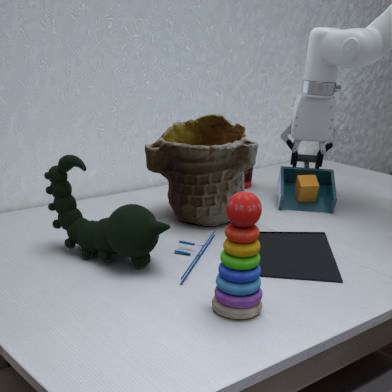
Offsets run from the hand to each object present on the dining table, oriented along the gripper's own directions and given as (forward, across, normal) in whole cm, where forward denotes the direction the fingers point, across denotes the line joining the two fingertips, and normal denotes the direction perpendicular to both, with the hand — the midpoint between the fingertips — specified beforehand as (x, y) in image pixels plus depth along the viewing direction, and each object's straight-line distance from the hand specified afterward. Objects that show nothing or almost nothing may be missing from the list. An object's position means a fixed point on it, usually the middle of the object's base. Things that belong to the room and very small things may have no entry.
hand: (305, 168), depth 128 cm
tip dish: (+5, 0, +5) cm, 7 cm away
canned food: (+8, +17, -6) cm, 20 cm away
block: (+5, 0, +7) cm, 9 cm away
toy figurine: (+8, +40, +48) cm, 63 cm away
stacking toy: (+8, +16, +64) cm, 66 cm away
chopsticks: (+8, +26, +44) cm, 51 cm away
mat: (+8, +6, +33) cm, 35 cm away
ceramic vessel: (+8, +26, +21) cm, 34 cm away
